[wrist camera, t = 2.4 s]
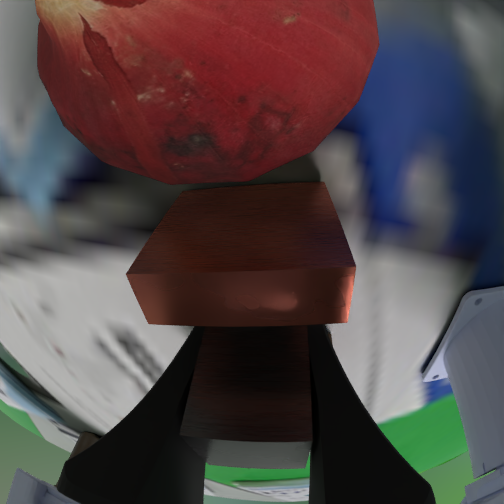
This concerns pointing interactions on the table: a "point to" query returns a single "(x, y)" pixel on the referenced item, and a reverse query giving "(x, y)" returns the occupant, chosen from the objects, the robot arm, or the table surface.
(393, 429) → the table surface
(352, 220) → the table surface
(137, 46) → the onion
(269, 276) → the rod
